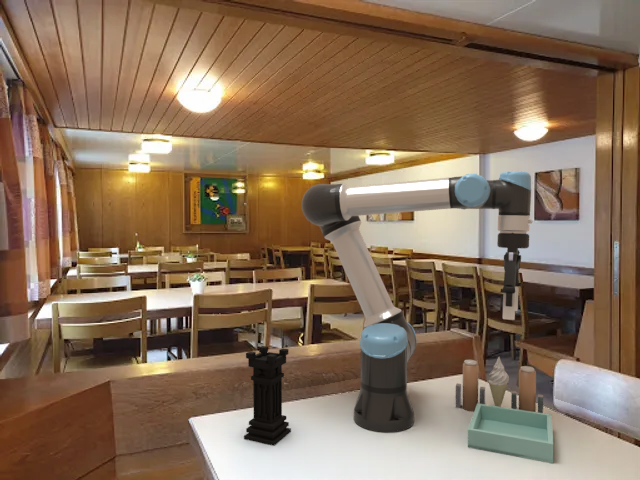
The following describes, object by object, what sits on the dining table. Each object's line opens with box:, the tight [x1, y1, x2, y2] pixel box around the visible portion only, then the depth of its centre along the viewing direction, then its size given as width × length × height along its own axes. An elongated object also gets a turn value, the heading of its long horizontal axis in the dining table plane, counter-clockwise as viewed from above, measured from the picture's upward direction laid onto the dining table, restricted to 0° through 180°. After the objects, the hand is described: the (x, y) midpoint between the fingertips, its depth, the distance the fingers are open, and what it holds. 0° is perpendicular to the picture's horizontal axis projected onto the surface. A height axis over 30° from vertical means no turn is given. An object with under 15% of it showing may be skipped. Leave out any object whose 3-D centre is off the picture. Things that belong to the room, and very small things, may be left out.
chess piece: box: [243, 345, 292, 447], centre depth 111 cm, size 8×8×20 cm
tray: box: [467, 402, 554, 464], centre depth 109 cm, size 17×17×4 cm
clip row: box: [455, 382, 544, 413], centre depth 124 cm, size 21×2×6 cm, turn 65°
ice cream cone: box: [487, 356, 510, 407], centre depth 124 cm, size 5×5×15 cm
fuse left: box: [462, 359, 479, 412], centre depth 127 cm, size 4×4×13 cm
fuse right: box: [518, 365, 537, 412], centre depth 121 cm, size 4×4×13 cm
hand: (510, 314), depth 122 cm, fingers open, 13 cm apart
